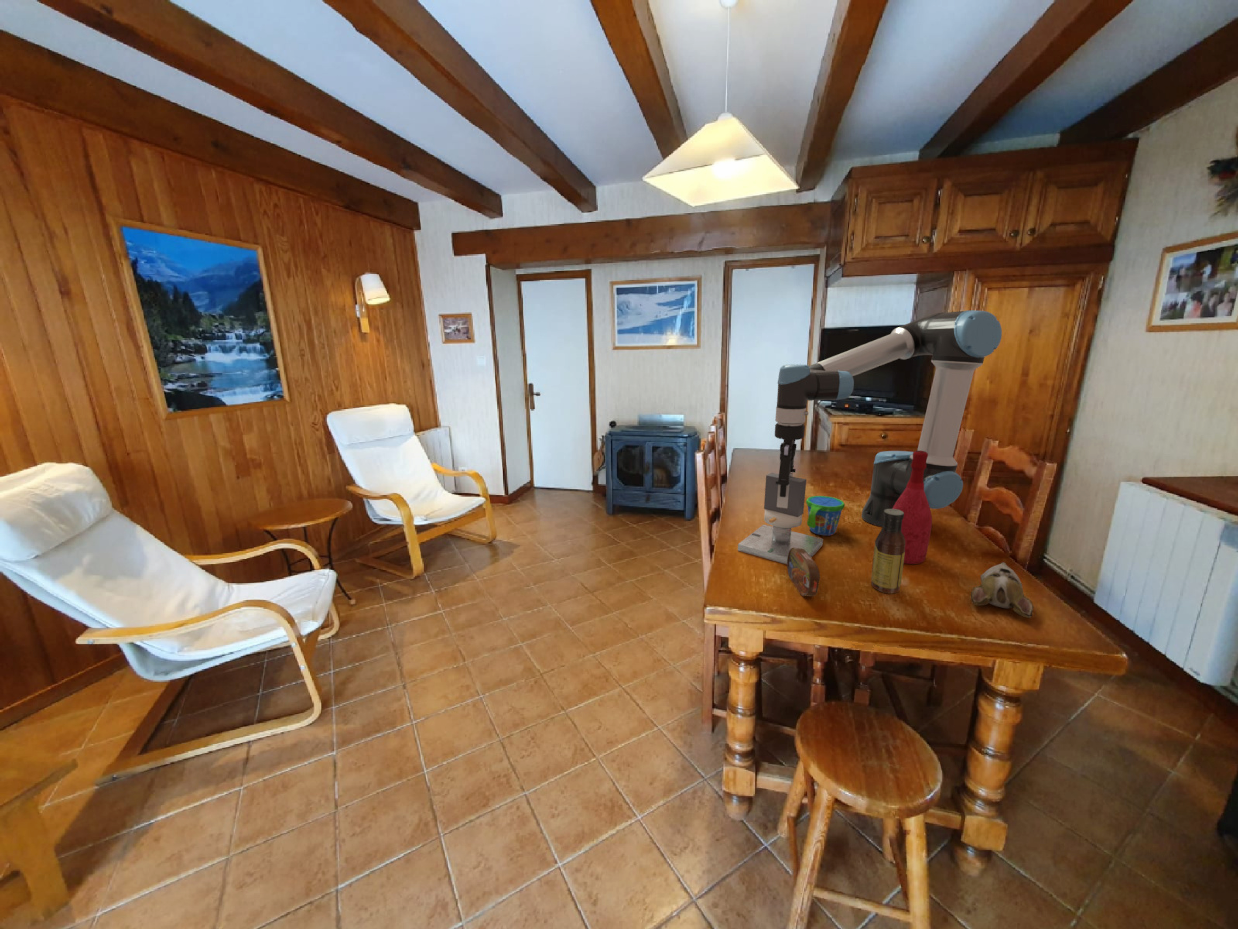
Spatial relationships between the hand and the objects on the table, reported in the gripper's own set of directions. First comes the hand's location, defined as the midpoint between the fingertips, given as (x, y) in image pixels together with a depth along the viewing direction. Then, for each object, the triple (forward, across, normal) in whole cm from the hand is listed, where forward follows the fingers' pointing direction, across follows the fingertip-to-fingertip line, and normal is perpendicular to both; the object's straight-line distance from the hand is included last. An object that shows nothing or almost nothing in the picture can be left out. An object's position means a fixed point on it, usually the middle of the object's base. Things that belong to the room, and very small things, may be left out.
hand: (784, 500), depth 131 cm
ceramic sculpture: (+15, -12, -48) cm, 52 cm away
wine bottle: (+15, +6, -32) cm, 35 cm away
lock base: (+14, 0, 0) cm, 14 cm away
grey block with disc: (+6, -1, 0) cm, 6 cm away
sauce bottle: (+15, -14, -25) cm, 32 cm away
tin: (+15, -20, -7) cm, 26 cm away
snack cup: (+15, +17, -11) cm, 25 cm away
